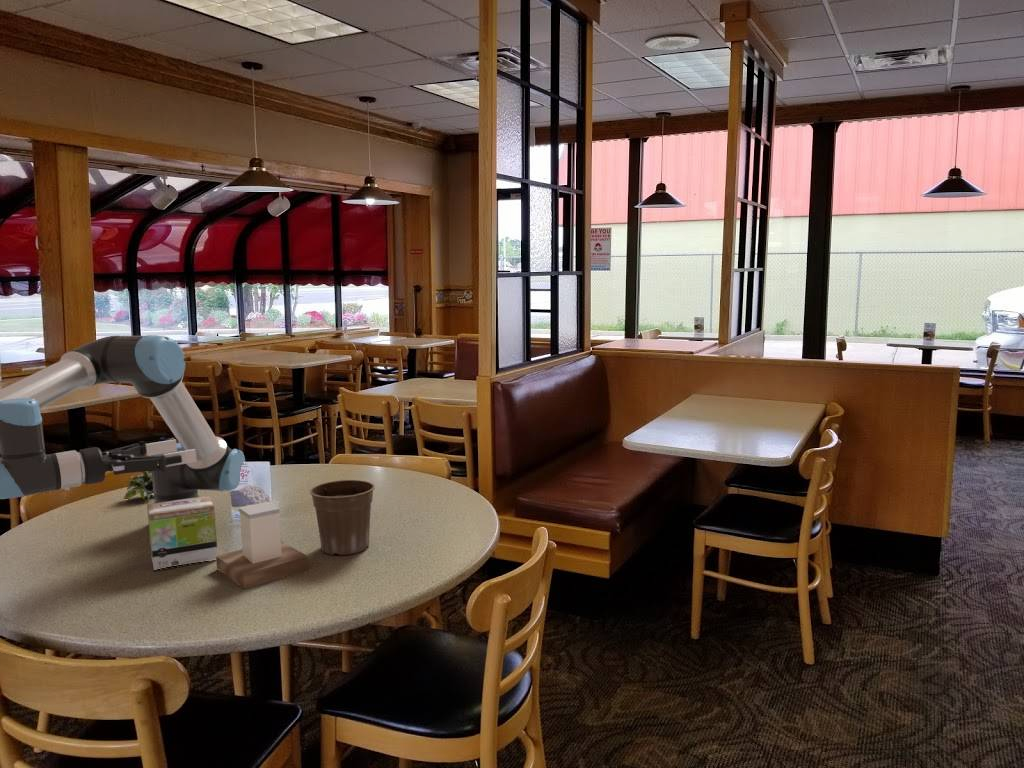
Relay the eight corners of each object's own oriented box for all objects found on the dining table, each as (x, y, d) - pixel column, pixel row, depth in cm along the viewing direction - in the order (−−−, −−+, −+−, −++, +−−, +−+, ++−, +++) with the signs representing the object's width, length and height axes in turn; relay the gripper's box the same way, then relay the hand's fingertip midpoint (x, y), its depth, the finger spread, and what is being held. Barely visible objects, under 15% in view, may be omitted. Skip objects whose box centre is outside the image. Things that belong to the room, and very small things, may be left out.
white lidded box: (242, 555, 186) (238, 507, 184) (271, 548, 191) (268, 501, 189) (252, 563, 181) (249, 515, 179) (282, 556, 185) (279, 508, 183)
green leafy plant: (152, 511, 251) (172, 479, 254) (151, 515, 241) (172, 481, 244) (119, 496, 247) (139, 463, 250) (117, 499, 237) (138, 464, 240)
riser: (217, 571, 187) (216, 556, 186) (279, 554, 197) (278, 539, 197) (244, 591, 175) (243, 574, 174) (308, 571, 186) (307, 555, 185)
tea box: (153, 572, 186) (147, 514, 184) (151, 559, 195) (145, 503, 192) (219, 560, 193) (214, 504, 190) (214, 548, 201) (209, 493, 199)
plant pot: (355, 532, 211) (352, 475, 208) (390, 546, 199) (386, 486, 197) (302, 548, 199) (298, 488, 197) (335, 564, 188) (331, 501, 186)
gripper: (69, 473, 170) (170, 456, 183) (96, 497, 151) (205, 476, 165) (66, 440, 169) (167, 426, 182) (92, 460, 150) (202, 442, 163)
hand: (185, 450), depth 173 cm, fingers open, 13 cm apart
